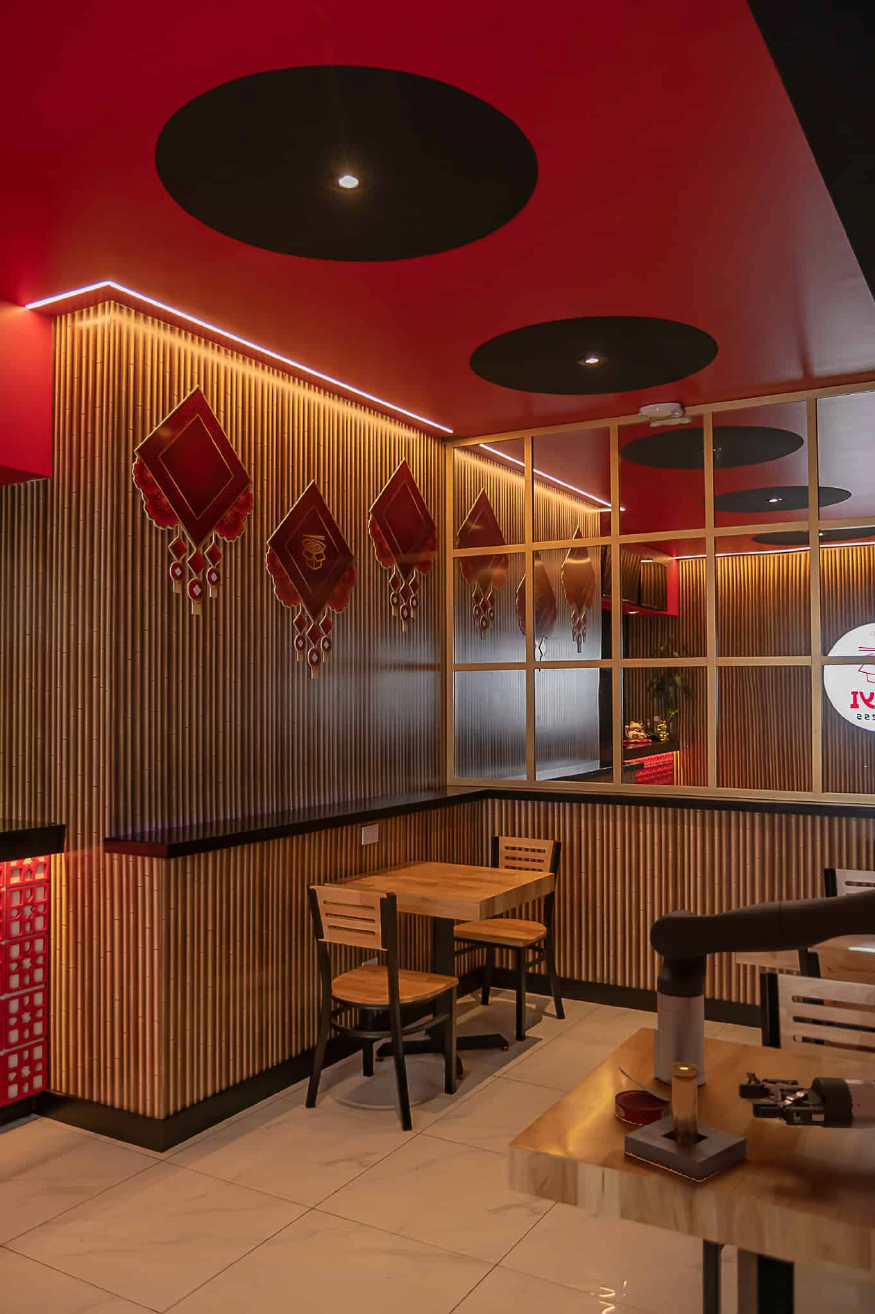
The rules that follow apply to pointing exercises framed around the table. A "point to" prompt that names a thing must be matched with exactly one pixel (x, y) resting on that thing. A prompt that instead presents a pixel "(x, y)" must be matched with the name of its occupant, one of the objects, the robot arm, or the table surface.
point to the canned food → (641, 1105)
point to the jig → (686, 1148)
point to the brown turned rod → (753, 1079)
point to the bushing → (684, 1102)
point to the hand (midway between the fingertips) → (746, 1100)
